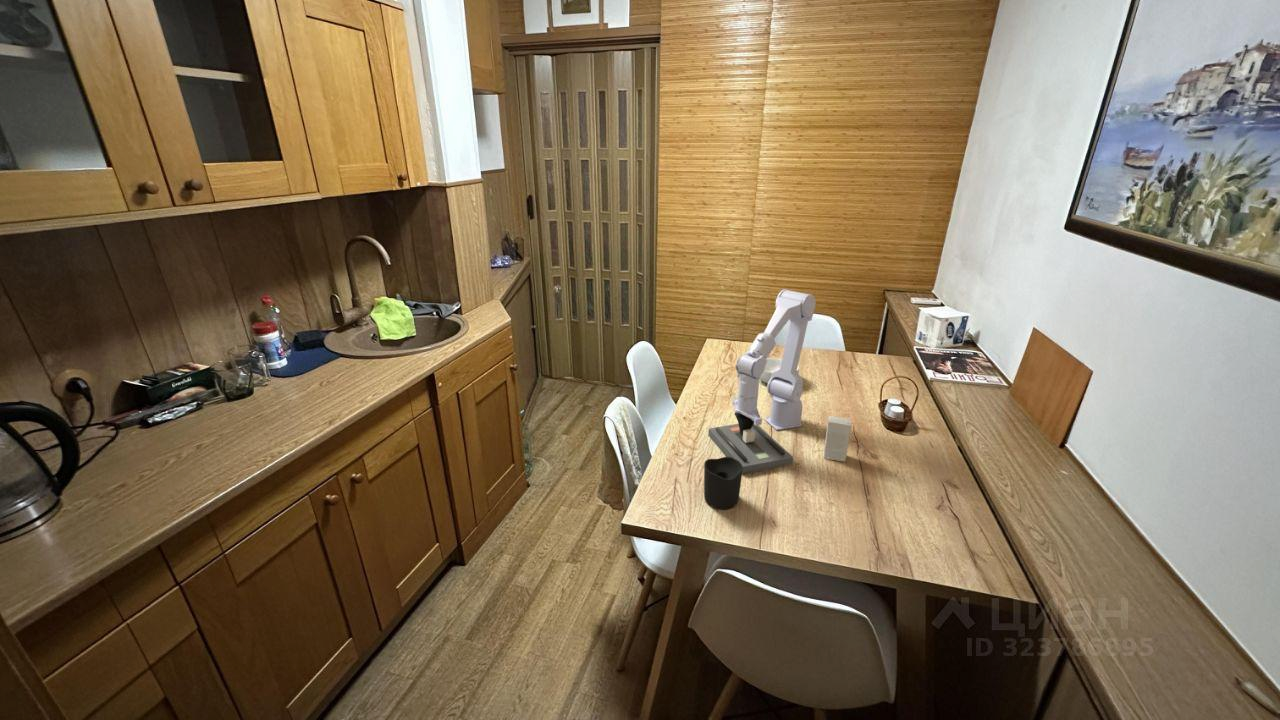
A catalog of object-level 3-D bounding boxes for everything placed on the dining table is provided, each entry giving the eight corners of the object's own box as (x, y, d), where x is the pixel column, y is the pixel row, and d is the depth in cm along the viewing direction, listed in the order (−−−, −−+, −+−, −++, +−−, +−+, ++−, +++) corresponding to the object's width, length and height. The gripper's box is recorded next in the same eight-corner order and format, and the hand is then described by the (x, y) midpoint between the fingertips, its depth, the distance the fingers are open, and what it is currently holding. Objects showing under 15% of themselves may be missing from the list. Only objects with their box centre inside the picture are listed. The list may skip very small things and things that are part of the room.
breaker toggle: (750, 438, 148) (751, 428, 147) (754, 441, 146) (755, 432, 145) (742, 439, 147) (743, 430, 146) (745, 442, 145) (746, 433, 144)
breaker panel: (753, 427, 159) (754, 417, 158) (792, 464, 140) (793, 453, 138) (708, 435, 155) (708, 425, 154) (741, 474, 135) (742, 463, 134)
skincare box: (844, 454, 145) (851, 418, 140) (845, 462, 141) (851, 425, 136) (823, 451, 146) (828, 415, 142) (822, 458, 143) (828, 422, 138)
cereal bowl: (802, 378, 195) (804, 362, 193) (790, 394, 182) (792, 377, 180) (761, 370, 204) (762, 354, 201) (746, 384, 191) (747, 367, 188)
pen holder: (732, 515, 120) (735, 481, 116) (696, 503, 124) (698, 470, 120) (744, 494, 127) (747, 461, 124) (710, 484, 132) (712, 452, 128)
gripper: (724, 386, 149) (721, 425, 154) (747, 407, 136) (744, 449, 141) (745, 383, 151) (742, 422, 156) (770, 403, 138) (765, 445, 143)
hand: (744, 435), depth 149 cm, fingers closed
